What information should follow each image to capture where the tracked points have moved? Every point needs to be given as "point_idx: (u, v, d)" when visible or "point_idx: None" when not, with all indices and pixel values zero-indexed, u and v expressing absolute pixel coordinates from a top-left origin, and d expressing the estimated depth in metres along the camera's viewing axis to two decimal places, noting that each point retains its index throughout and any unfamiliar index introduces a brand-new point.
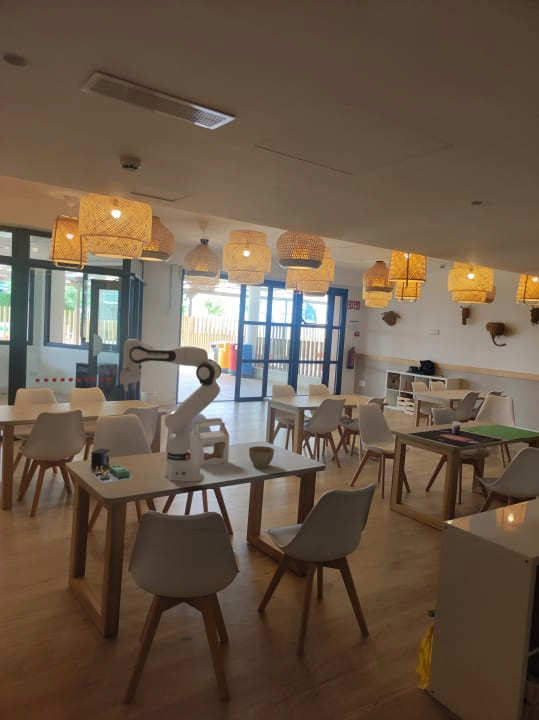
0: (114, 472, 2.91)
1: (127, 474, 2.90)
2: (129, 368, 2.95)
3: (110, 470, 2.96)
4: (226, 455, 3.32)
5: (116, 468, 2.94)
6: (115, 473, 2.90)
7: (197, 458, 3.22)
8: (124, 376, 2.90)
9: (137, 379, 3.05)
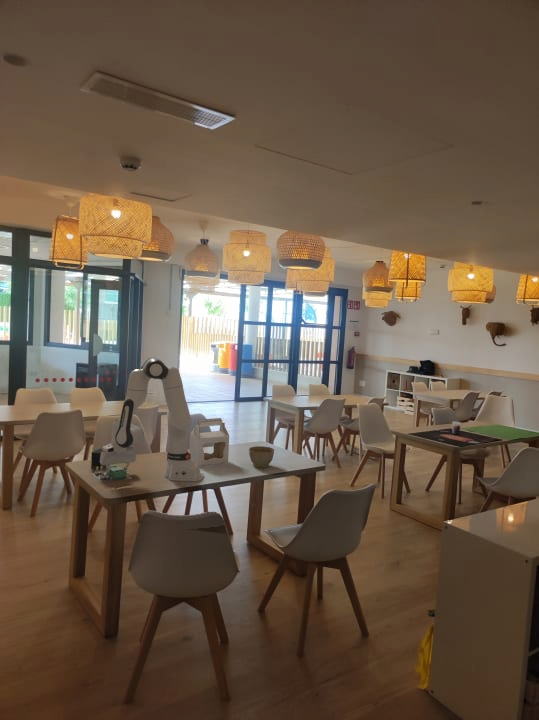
0: (111, 473, 2.90)
1: (124, 474, 2.89)
2: None
3: None
4: (226, 455, 3.32)
5: (113, 468, 2.93)
6: (112, 473, 2.88)
7: (197, 458, 3.22)
8: None
9: None
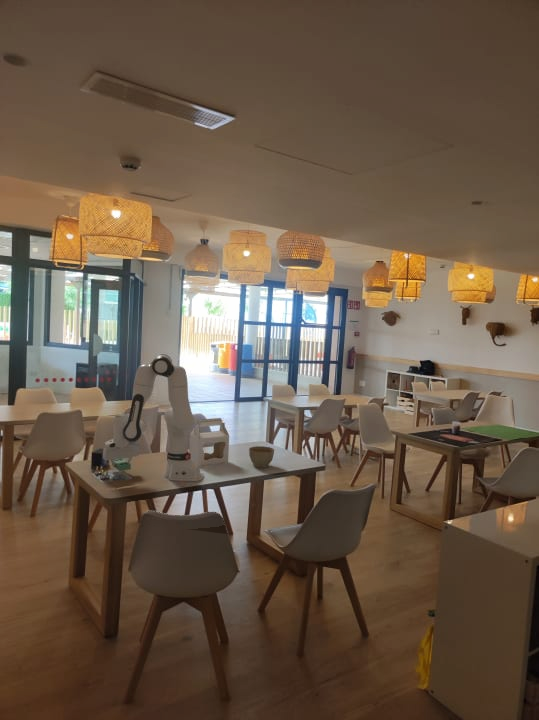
0: (116, 466, 2.93)
1: (128, 467, 2.91)
2: None
3: (112, 464, 2.98)
4: (226, 455, 3.32)
5: (118, 461, 2.95)
6: (117, 466, 2.91)
7: (197, 458, 3.22)
8: None
9: None
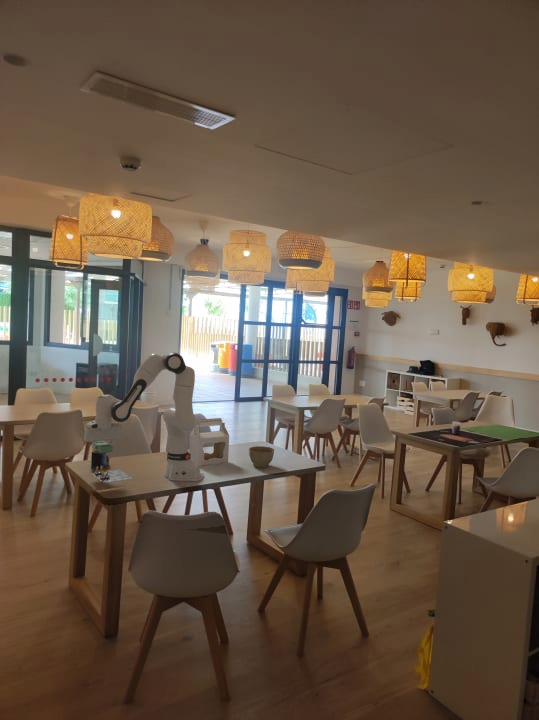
0: (97, 448, 2.84)
1: (110, 449, 2.83)
2: None
3: (93, 446, 2.90)
4: (226, 455, 3.32)
5: (99, 444, 2.87)
6: (98, 448, 2.83)
7: (197, 458, 3.22)
8: None
9: None
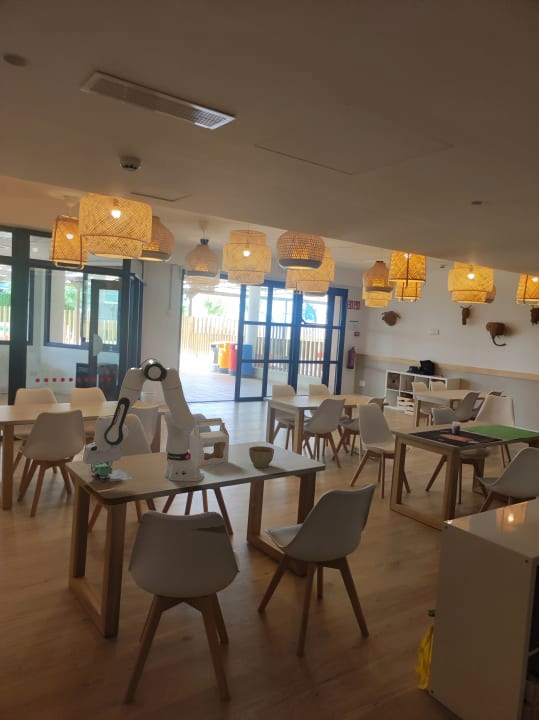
0: None
1: (110, 471, 2.83)
2: None
3: (92, 468, 2.90)
4: (226, 455, 3.32)
5: (99, 465, 2.87)
6: (97, 470, 2.83)
7: (197, 458, 3.22)
8: None
9: None
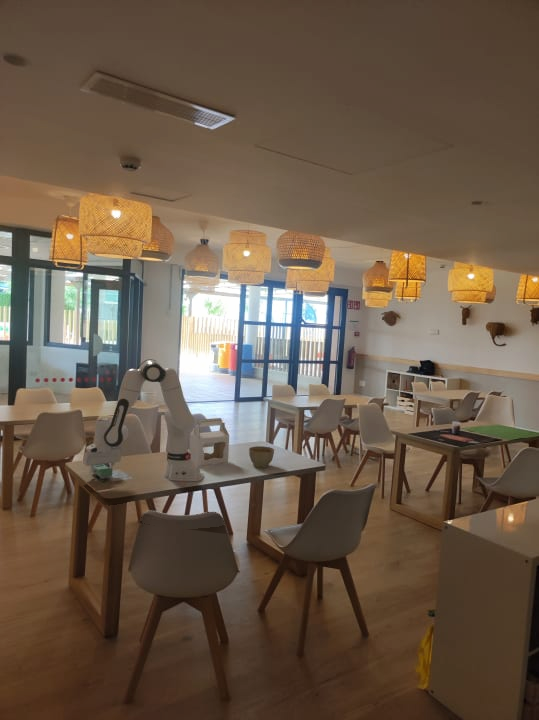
0: (97, 472, 2.85)
1: (110, 474, 2.84)
2: None
3: None
4: (226, 455, 3.32)
5: (99, 468, 2.88)
6: (98, 473, 2.84)
7: (197, 458, 3.22)
8: None
9: None
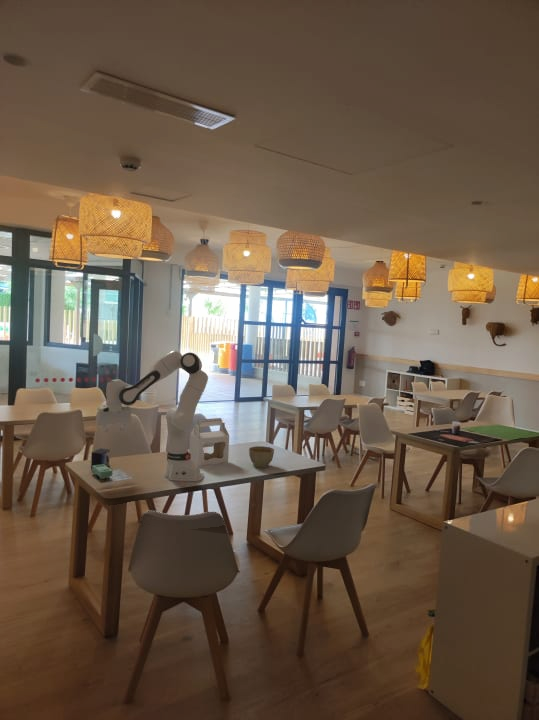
0: (97, 472, 2.85)
1: (110, 474, 2.84)
2: None
3: (93, 470, 2.91)
4: (226, 455, 3.32)
5: (99, 468, 2.88)
6: (98, 473, 2.84)
7: (197, 458, 3.22)
8: None
9: None
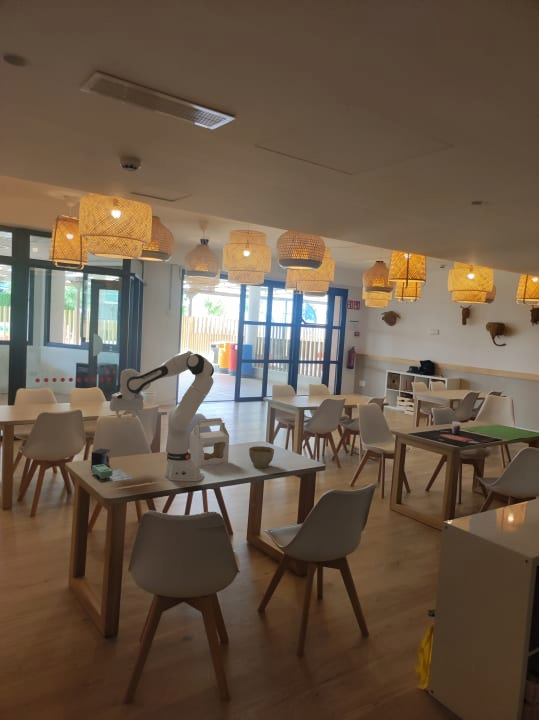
0: (97, 472, 2.85)
1: (110, 474, 2.84)
2: None
3: (93, 470, 2.91)
4: (226, 455, 3.32)
5: (99, 468, 2.88)
6: (98, 473, 2.84)
7: (197, 458, 3.22)
8: None
9: None
